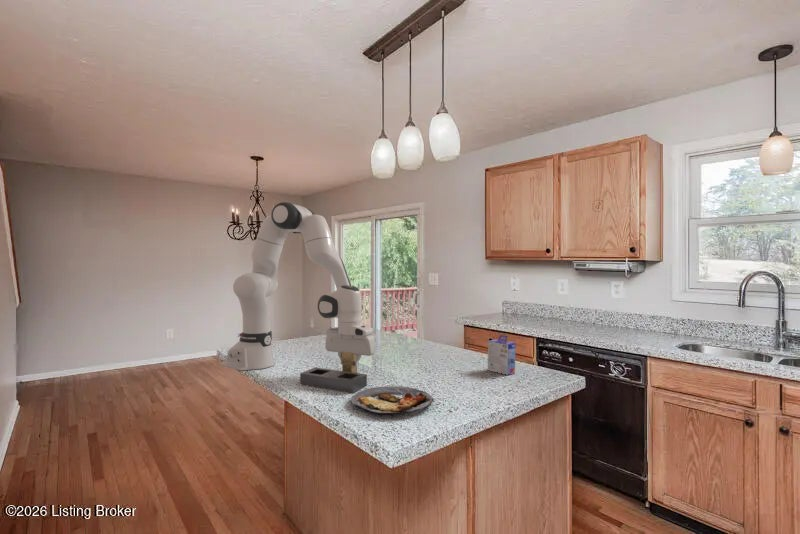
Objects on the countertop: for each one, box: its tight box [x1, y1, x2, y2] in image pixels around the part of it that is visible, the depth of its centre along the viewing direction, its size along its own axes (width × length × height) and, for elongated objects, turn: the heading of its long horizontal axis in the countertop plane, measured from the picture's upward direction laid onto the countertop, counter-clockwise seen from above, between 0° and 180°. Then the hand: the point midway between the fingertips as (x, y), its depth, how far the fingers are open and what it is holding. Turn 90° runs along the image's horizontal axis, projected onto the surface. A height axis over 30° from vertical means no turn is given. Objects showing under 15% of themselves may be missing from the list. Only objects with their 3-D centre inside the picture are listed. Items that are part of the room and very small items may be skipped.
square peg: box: [341, 351, 358, 373], centre depth 153 cm, size 4×4×10 cm
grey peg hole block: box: [299, 367, 368, 394], centre depth 143 cm, size 22×9×4 cm, turn 66°
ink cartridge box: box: [487, 334, 517, 376], centre depth 162 cm, size 10×6×14 cm, turn 41°
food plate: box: [350, 385, 435, 415], centre depth 125 cm, size 25×23×4 cm
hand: (349, 364), depth 153 cm, fingers closed on square peg, 4 cm apart
